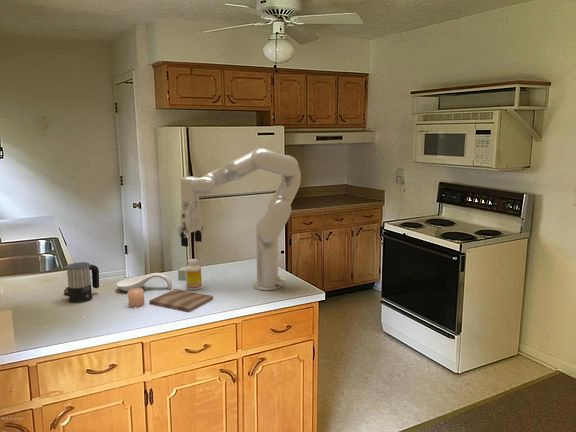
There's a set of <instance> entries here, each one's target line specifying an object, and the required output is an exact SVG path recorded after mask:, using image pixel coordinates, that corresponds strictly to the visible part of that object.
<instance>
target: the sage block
mask: <svg viewBox="0 0 576 432" xmlns="http://www.w3.org/2000/svg"><path fill="white" fill-rule="evenodd" d="M186 267H187V266H185V267H183V266H182V267H180V268H179V269H178V270H177V273H178V274H177V277H178V281H183V282H184V281H185V282H186Z"/></svg>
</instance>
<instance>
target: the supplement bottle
mask: <svg viewBox="0 0 576 432" xmlns="http://www.w3.org/2000/svg"><path fill="white" fill-rule="evenodd" d="M185 267H186V281H185V282H186V283H185V284H186V286H185V287H186V289H187V291H196V290H200V289H202V267H201V265H199V259H197V258H191V259H188V260H187V266H185Z"/></svg>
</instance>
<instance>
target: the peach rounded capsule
mask: <svg viewBox="0 0 576 432" xmlns="http://www.w3.org/2000/svg"><path fill="white" fill-rule="evenodd" d="M144 293H145V292H144V288H142V287H141V288H134V289H130V290H129V291H128V292H127V299H128V307H129V306H130V307H129V308H132V307H137V308H141V307H143V306H145V294H144ZM140 306H141V307H140Z"/></svg>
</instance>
